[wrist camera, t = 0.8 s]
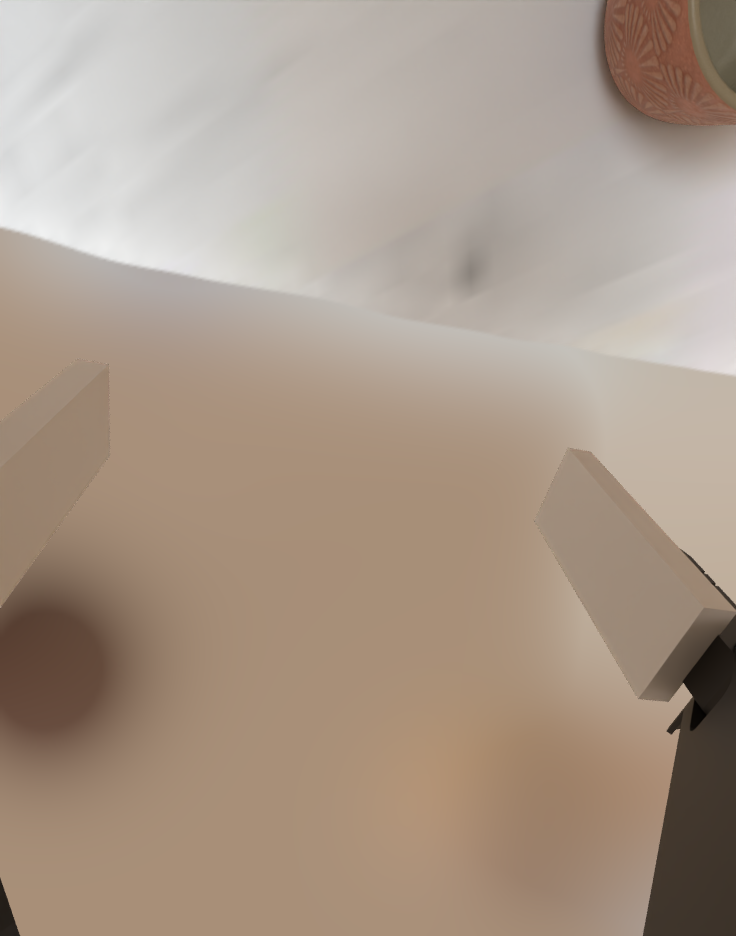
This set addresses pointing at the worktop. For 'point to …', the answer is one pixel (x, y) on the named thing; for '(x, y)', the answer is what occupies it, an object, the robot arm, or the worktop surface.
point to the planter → (674, 58)
